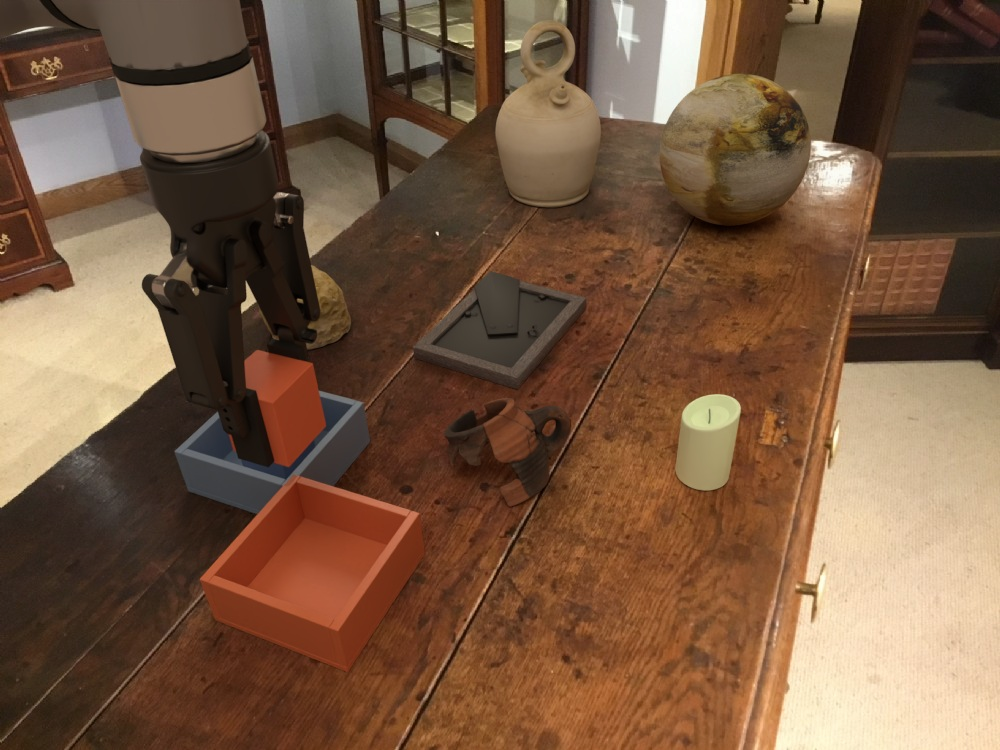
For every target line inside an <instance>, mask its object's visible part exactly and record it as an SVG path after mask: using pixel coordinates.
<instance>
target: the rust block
mask: <svg viewBox="0 0 1000 750" xmlns="http://www.w3.org/2000/svg"><path fill="white" fill-rule="evenodd" d="M244 362H245V378H246V388H248V389H252V390H256V392H257V396H258V401H259V404H260V408H261V412H262V416H263V419H264V423H265V427H266V431H267V435H268V438H269V442H270V446H271V450H272V453H273V457H274V462H273V463H276V464H280V465H283V466H287V467H290V466H291V464H292V463H293V462H294V461H295V460H296V459H297V458H298V457H299V456H300V454H301V453H302V452H303V451H304V450H305V449H306V448H307V447H308V446H309V445H310V443H311V442H312V441H313V440H314V439H315V438H316V437H317V436H318V435H319V433H320V432H321V431H322V430H323V429H324V428H325V427H326V422H325V418H324V413H323V408H322V404H321V399H320V394H319V391H320V390H319V385H318V382H317V381H318V380H317V376H316V371H315V366H314V363H313V362H311V361H310V362H306V361H302V360H297V359H293V358H289V357H285V356H280V355H276V354H272V353H269V352H268V351H264V350H260V349H256V350H254V351H253V352H252V354H251V355H249V356H248V357H247V358H246V359H244ZM229 437H230V440H231V444H232V447H233V450H234V451H235V452H236V449H235V446H234V443H233V439H232V436H231V435H230V434H229Z"/></svg>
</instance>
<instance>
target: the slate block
mask: <svg viewBox="0 0 1000 750" xmlns="http://www.w3.org/2000/svg"><path fill="white" fill-rule="evenodd" d="M315 447H316V446H315V441H314V440H313V441H312V442H311V443H310V445H309V446H308V447H307V448H306V449H305V450H304V451H303V452H302V453H301V454H300V456H299V457H298V458H297V459H296V460H295V461H294V462H293V463H292V464H291V466H290V467H287V466H283V465H280V464H276V463H272V464H271V465H270V467H269V468H268V467H265V466H262V465H258V464H255V463H252V462H248V461H245V460H242V459H241V461H242V464H243V466H244V467H247V468H250V469H254V470H257V471H260V472H263V473H267V474H270V475H273V476H276V477H279V478H283V479H285V480H286V479H287V478H288V477H289V476H290V475H291V474H292V473H293V472H294V470H295V469H296V468H297V467H298V466H299V465H300V464H301V463H302V462H303V460H304V459H305V458H306V457H307V456H308V455H309V454H310V453H311V451H312V450H313V449H314V448H315Z"/></svg>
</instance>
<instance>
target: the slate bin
mask: <svg viewBox="0 0 1000 750" xmlns="http://www.w3.org/2000/svg"><path fill="white" fill-rule="evenodd" d="M319 394H320V399H321V404H322V408H323V413H324V418H325V422H326V427H325V428H324V429H323V430H322V431H321V432H320V433H319V435H318V436H317V437H316V438H315V439H314V441H315V446H316V447H315V448H314V449H313V450H312V451H311V453H310V454H309V455H308V456H307V457H306V458H305V459H304V460H303V462H302V463H301V464H300V465H299V466H298V467H297V468H296V469H295V470H294V472H293V473H292V474H291V475H290V476H289V477H288V478H287V479H286V480H285V479H283V478H279V477H276V476H273V475H270V474H267V473H263V472H260V471H257V470H254V469H250V468H247V467H244V466H243V464H242V461H241V459H238V456H237V453H236V452H235V451H234V450H233V447H232V444H231V440H230V437H229V434H227V433H226V432H225V431H224V430H223V427H222V423H221V421H220V417H219V414H218V411H216V413H214V414H213V415H212V416H211V417H210V418H209V419H208V420H206V422H204V423H203V425H201V426H200V427H199V428H198V429H197V430H196V431H194V432H193V433H192V434H191V436H189V438H187V439H186V440H185V441H183V443H182V444H180V446H178V448H176V449H175V450H174V455H175V457H176V460H177V461H176V462H177V463H178V467H179V469H180V472H181V475H182V478H183V481H184V484H185V486H186V490H187V491H188V493H193V494H195V495H198V496H200V497H204V498H207V499H210V500H213V501H215V502H220V503H223V504H225V505H228V506H231V507H234V508H238V509H240V510H243V511H247V512H249V513H252V514H254V515H255V514H256V515H257V514H258V513H259V512H260V511H261V510H262V509H263V508H264V507H265V505H266V504H267V503H268V502H269V501H270V500H271V499H272V498H273V496H274V495H275V494H276V493H277V492H278V491H279V490H280V489H281V488H282V486H284V485H285V484H286V482H287V481H288V480H289V479H290V478H291V477H292V476H295V475H297V476H301V477H304V478H307V479H311V480H314V481H317V482H320V483H324V484H327V485H330V486H333V487H335V485H336V484H337V483H338V481H340V479H341V478H342V477H343V475H344V474H345V473H346V472H347V470H349V468H350V467H351V466H352V465H353V463H354V462H355V461H356V460H357V459H358V458H359V456H360V455H361V454H362V452H364V450H365V449H366V447H367V446H368V445H369V444H370V443H371V438H370V433H369V426H368V420H367V414H366V408H365V403H364V401H359V400H356V399H353V398H349V397H345V396H341V395H337V394H334V393H330V392H326V391H323V390H322V391H321V390H319ZM295 478H296V477H295ZM293 479H294V478H293ZM291 481H292V480H291ZM291 481H290V482H289V484H291V483H292V482H291ZM293 481H294V480H293ZM287 483H288V482H287ZM286 485H287V484H286Z"/></svg>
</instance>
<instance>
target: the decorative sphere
mask: <svg viewBox="0 0 1000 750" xmlns="http://www.w3.org/2000/svg"><path fill="white" fill-rule="evenodd" d="M800 105H801V104H799V102H798V101H797V100H796V99H795V97H794V96H793V95H792V94H791V93H790V92H789V91H788V90H787V89H786V88H784V87H783V86H781V85H780V84H778V83H776V82H775V81H774V80H770V79H768V78H766V77H764V76H760V75H757V74H756V75H755V74H750V73H749V74H748V73H732V74H726V75H721V76H717V77H714V78H712V79H709V80H707V81H705V82H703V83H701V84H700V85H697V86H696V87H695V88H693V89H692V90H691V91H689V92H688V93H687V94H686V95H685V96H684V97H683V98H682V99H681V100H680V101H679V102H678V103H677V105H676V106H675V108H674V109H673V110H672V111H671V113H670V115H669V117H668V118H667V121H666V123H665V126H664V128H663V130H662V134H661V137H660V143H659V166H660V172H661V174H662V178H663V181H664V183H665V186H666V188H667V190H668V191H669V193H670V195H671V196H672V198H673V199H674V200H675V202H676V203H677V204H678V205H679V206H680V207H681V208H682V209H683V210H685V212H687V213H688V214H690V215H692V216H694V218H697V219H699V220H701V221H703V222H706V223H709V224H713V225H718V226H731V227H732V226H733V227H734V226H741V225H748V224H751V223H754V222H757V221H760V220H762V219H764V218H766V217H768V216H770V215H772V214H773V213H774V212H776V211H778V210H780V208H782V207H783V206H784V205H785V204H786V203H787V202H788V201H789V200H790V199H791V198H792V196H793V195H794V194H795V193H796V191H797V190H798V188H799V187H800V185H801V183H802V182H803V179H804V178H805V175H806V173H807V169H808V166H809V163H810V159H811V151H812V140H811V131H810V125H809V123H808V120H807V117H806V115H805V113H804V111H803V109H802V107H801V106H800Z"/></svg>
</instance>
